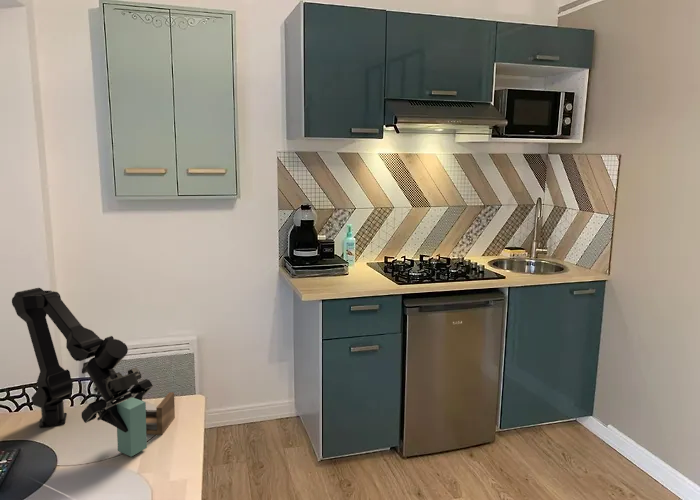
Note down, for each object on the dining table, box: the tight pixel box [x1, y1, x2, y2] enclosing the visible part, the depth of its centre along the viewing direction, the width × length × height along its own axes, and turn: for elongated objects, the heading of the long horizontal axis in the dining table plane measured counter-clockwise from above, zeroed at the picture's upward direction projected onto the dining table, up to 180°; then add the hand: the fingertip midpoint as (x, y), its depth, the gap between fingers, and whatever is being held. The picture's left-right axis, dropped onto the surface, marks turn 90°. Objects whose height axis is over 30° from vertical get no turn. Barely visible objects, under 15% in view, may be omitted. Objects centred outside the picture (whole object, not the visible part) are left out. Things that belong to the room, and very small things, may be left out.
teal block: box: [116, 397, 148, 458], centre depth 141 cm, size 5×5×13 cm
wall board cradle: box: [146, 391, 176, 436], centre depth 156 cm, size 9×10×8 cm
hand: (135, 427), depth 140 cm, fingers closed on teal block, 5 cm apart
